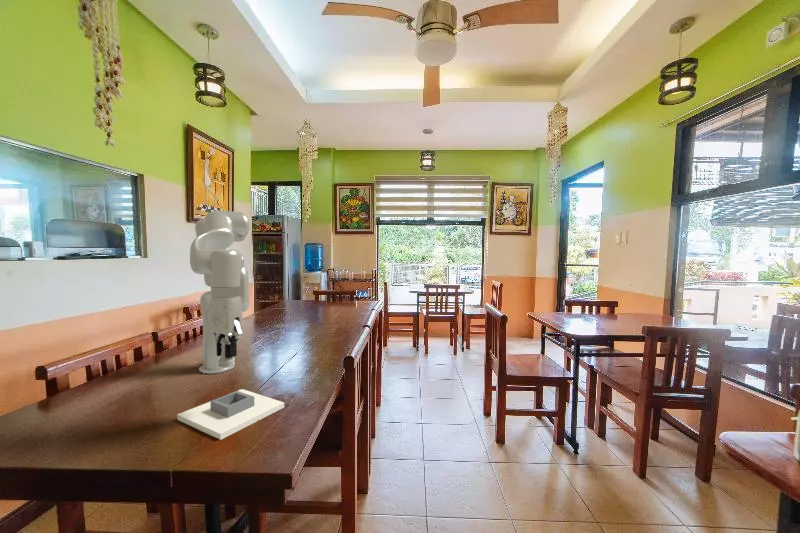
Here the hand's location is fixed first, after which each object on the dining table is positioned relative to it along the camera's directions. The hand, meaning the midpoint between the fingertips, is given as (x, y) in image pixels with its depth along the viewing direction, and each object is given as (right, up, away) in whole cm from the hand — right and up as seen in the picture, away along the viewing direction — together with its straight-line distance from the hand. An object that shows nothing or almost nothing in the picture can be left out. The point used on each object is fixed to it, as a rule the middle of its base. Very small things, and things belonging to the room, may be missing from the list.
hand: (226, 355), depth 94 cm
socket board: (+1, -17, +1) cm, 17 cm away
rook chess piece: (0, -3, 0) cm, 3 cm away
